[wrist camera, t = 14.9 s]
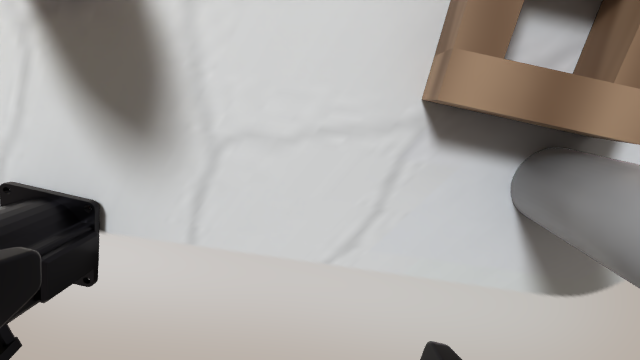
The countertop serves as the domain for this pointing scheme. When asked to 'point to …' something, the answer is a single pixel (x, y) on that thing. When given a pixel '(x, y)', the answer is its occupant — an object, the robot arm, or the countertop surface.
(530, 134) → the countertop surface
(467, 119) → the countertop surface
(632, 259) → the plug
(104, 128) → the countertop surface
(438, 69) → the brown square frame
